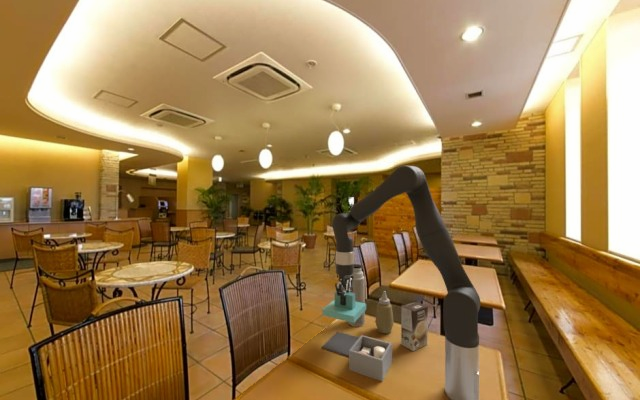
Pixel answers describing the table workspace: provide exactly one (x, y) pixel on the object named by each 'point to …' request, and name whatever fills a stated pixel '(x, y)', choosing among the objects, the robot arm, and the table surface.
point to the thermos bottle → (358, 292)
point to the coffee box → (414, 325)
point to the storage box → (370, 357)
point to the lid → (345, 308)
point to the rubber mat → (340, 343)
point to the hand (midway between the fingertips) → (344, 303)
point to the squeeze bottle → (384, 315)
